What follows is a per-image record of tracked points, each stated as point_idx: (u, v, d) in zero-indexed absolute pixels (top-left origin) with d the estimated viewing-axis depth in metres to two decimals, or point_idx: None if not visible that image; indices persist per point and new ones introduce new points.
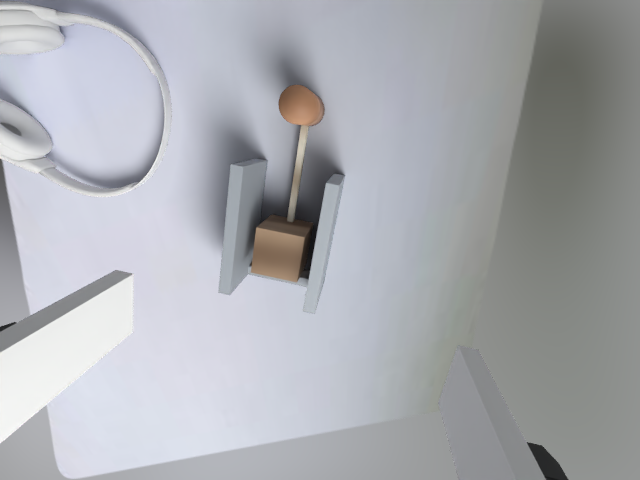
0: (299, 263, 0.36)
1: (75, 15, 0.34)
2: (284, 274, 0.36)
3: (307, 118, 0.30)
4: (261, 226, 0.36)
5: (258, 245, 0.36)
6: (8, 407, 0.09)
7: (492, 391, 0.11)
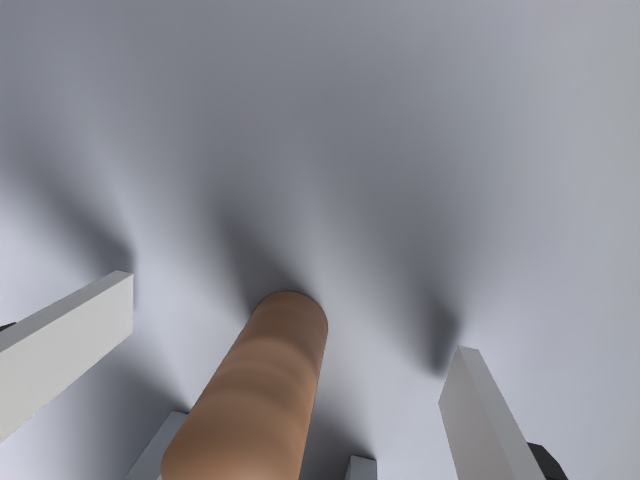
0: None
1: None
2: None
3: None
4: None
5: None
6: (8, 407, 0.09)
7: (492, 391, 0.11)
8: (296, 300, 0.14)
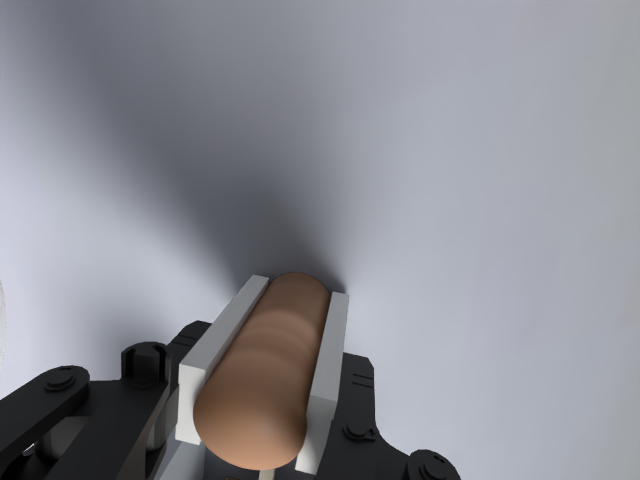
0: None
1: None
2: None
3: (283, 460, 0.10)
4: None
5: None
6: None
7: (339, 319, 0.13)
8: (303, 280, 0.15)
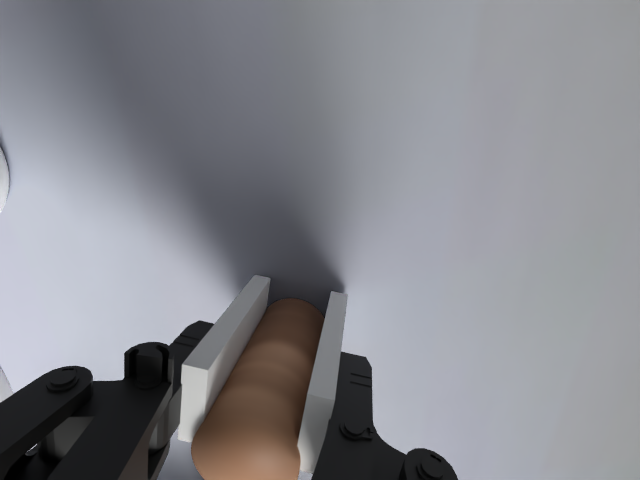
0: None
1: None
2: None
3: None
4: None
5: None
6: None
7: (337, 319, 0.13)
8: (299, 307, 0.15)
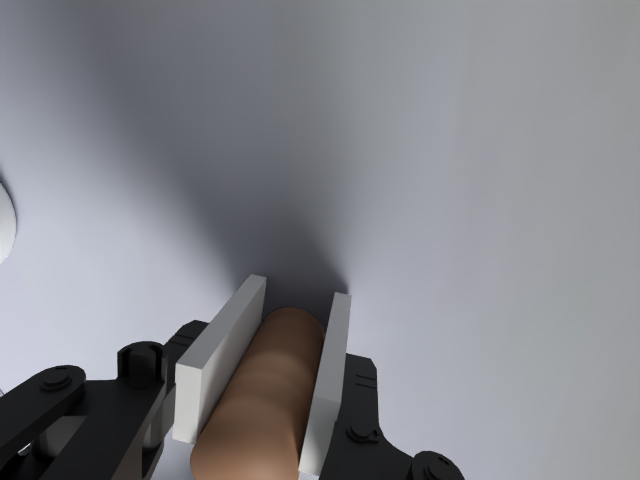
0: None
1: None
2: None
3: None
4: None
5: None
6: (215, 391, 0.11)
7: (342, 320, 0.13)
8: (297, 316, 0.16)
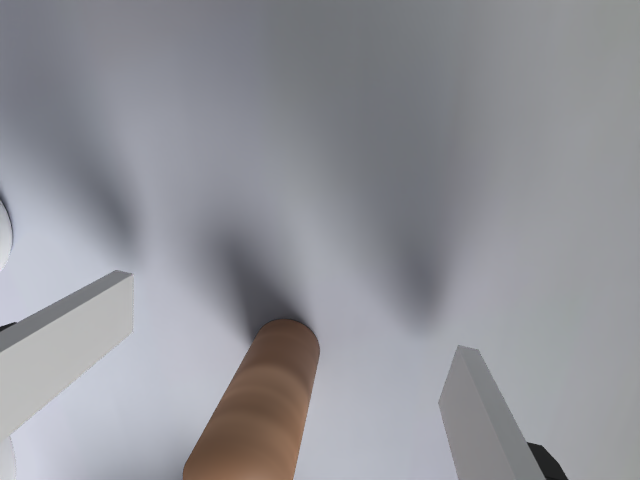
0: None
1: None
2: None
3: None
4: None
5: None
6: (8, 407, 0.09)
7: (492, 391, 0.11)
8: (292, 328, 0.16)
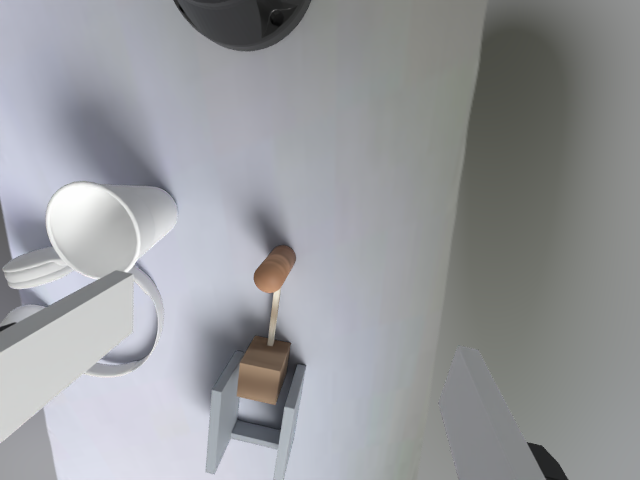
0: (276, 390, 0.42)
1: None
2: (264, 398, 0.43)
3: (277, 289, 0.37)
4: (244, 359, 0.43)
5: (242, 376, 0.42)
6: (8, 407, 0.09)
7: (492, 391, 0.11)
8: (284, 247, 0.43)
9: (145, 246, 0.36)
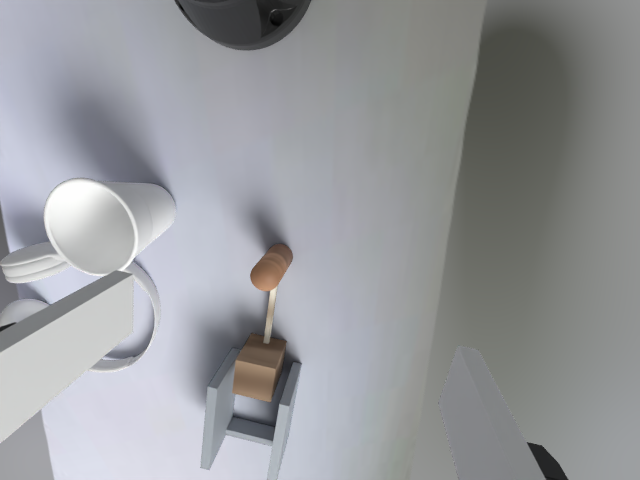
0: (272, 388, 0.43)
1: None
2: (260, 395, 0.43)
3: (273, 287, 0.38)
4: (240, 356, 0.43)
5: (238, 373, 0.43)
6: (8, 407, 0.09)
7: (492, 391, 0.11)
8: (281, 246, 0.43)
9: (143, 243, 0.36)
